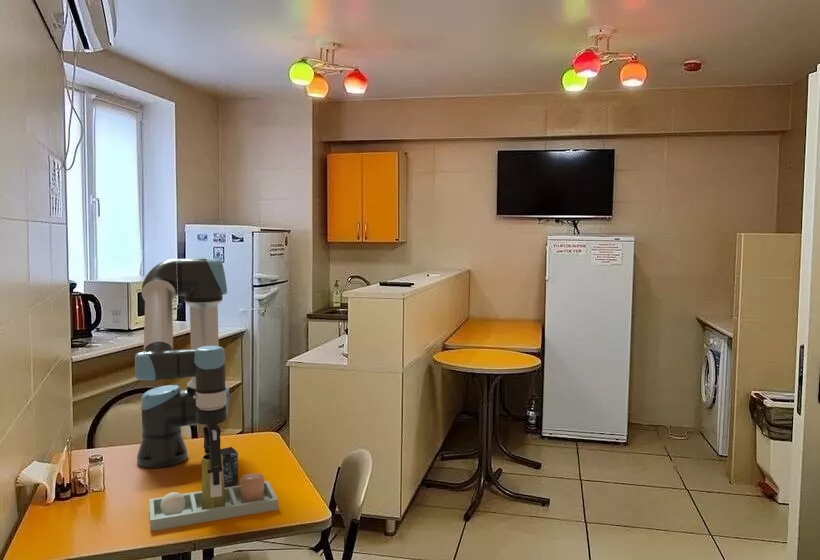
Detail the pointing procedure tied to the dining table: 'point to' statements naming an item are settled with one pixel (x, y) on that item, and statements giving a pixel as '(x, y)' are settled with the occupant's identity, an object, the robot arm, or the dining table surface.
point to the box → (230, 466)
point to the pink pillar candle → (252, 487)
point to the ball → (172, 504)
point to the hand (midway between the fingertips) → (213, 486)
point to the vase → (206, 498)
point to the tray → (197, 515)
